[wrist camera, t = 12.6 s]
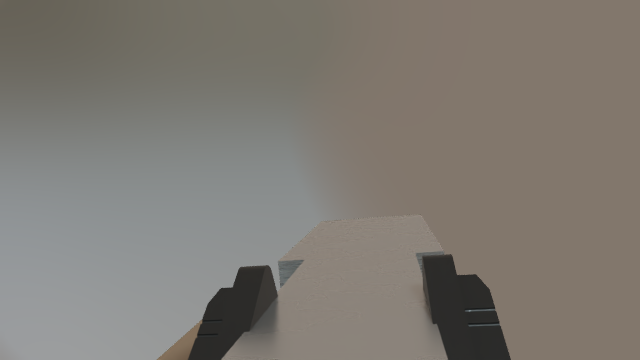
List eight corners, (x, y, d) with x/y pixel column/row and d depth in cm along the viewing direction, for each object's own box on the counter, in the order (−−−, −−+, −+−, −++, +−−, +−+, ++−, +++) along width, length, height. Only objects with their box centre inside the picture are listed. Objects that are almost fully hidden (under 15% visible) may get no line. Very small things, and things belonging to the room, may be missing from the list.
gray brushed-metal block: (159, 530, 8) (145, 383, 8) (325, 261, 30) (321, 221, 30) (534, 537, 7) (521, 373, 7) (424, 255, 29) (420, 214, 29)
